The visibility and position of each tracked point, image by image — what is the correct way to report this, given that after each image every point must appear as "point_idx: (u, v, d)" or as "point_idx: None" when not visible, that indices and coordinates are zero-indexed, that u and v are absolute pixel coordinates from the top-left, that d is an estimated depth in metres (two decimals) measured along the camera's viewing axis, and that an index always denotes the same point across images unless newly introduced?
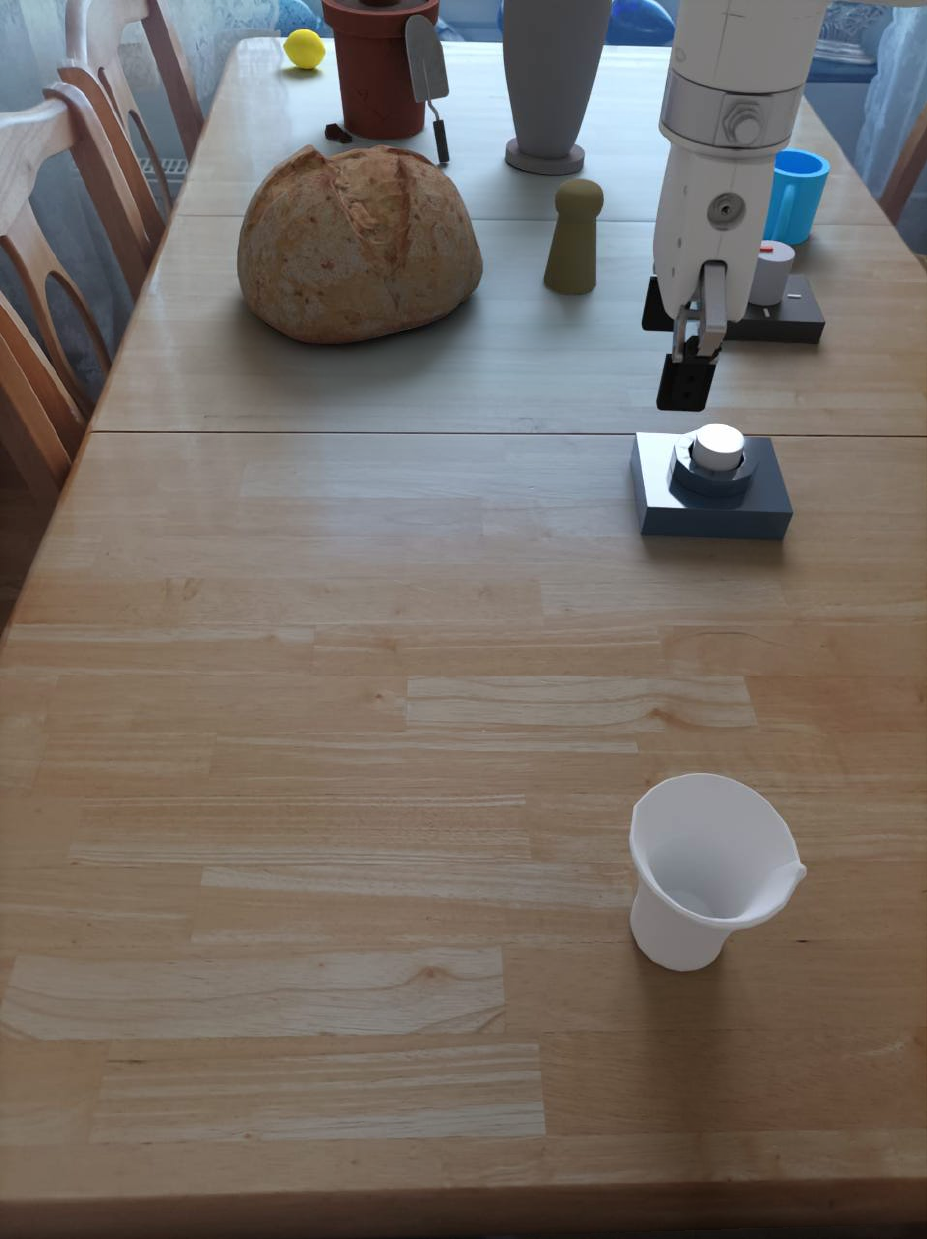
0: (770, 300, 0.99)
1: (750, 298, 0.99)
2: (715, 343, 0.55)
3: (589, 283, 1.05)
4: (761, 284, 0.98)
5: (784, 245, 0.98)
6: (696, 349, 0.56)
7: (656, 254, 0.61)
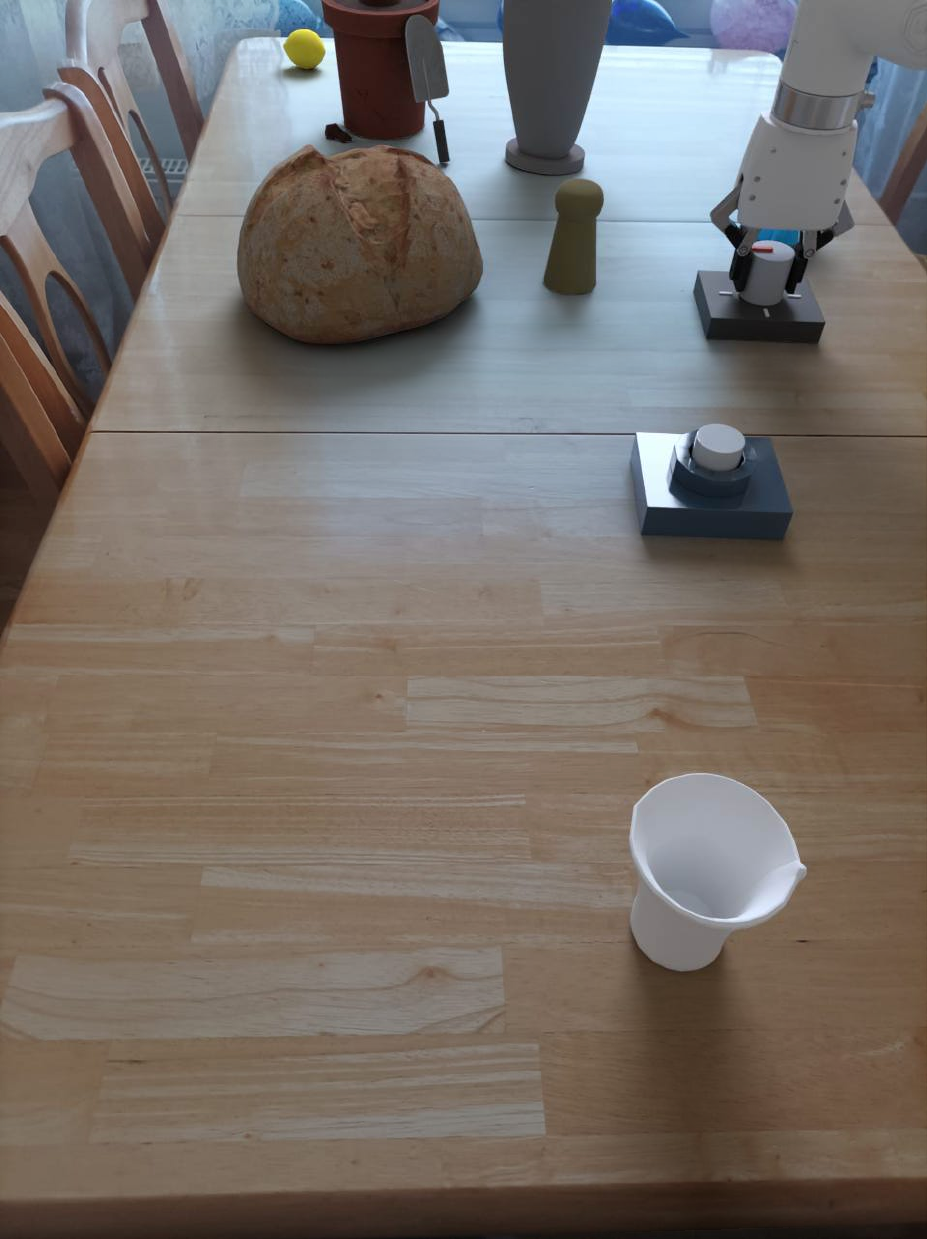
0: (770, 300, 0.99)
1: (750, 298, 0.99)
2: None
3: (589, 283, 1.05)
4: (761, 284, 0.98)
5: (784, 245, 0.98)
6: (832, 237, 0.95)
7: (775, 216, 0.92)
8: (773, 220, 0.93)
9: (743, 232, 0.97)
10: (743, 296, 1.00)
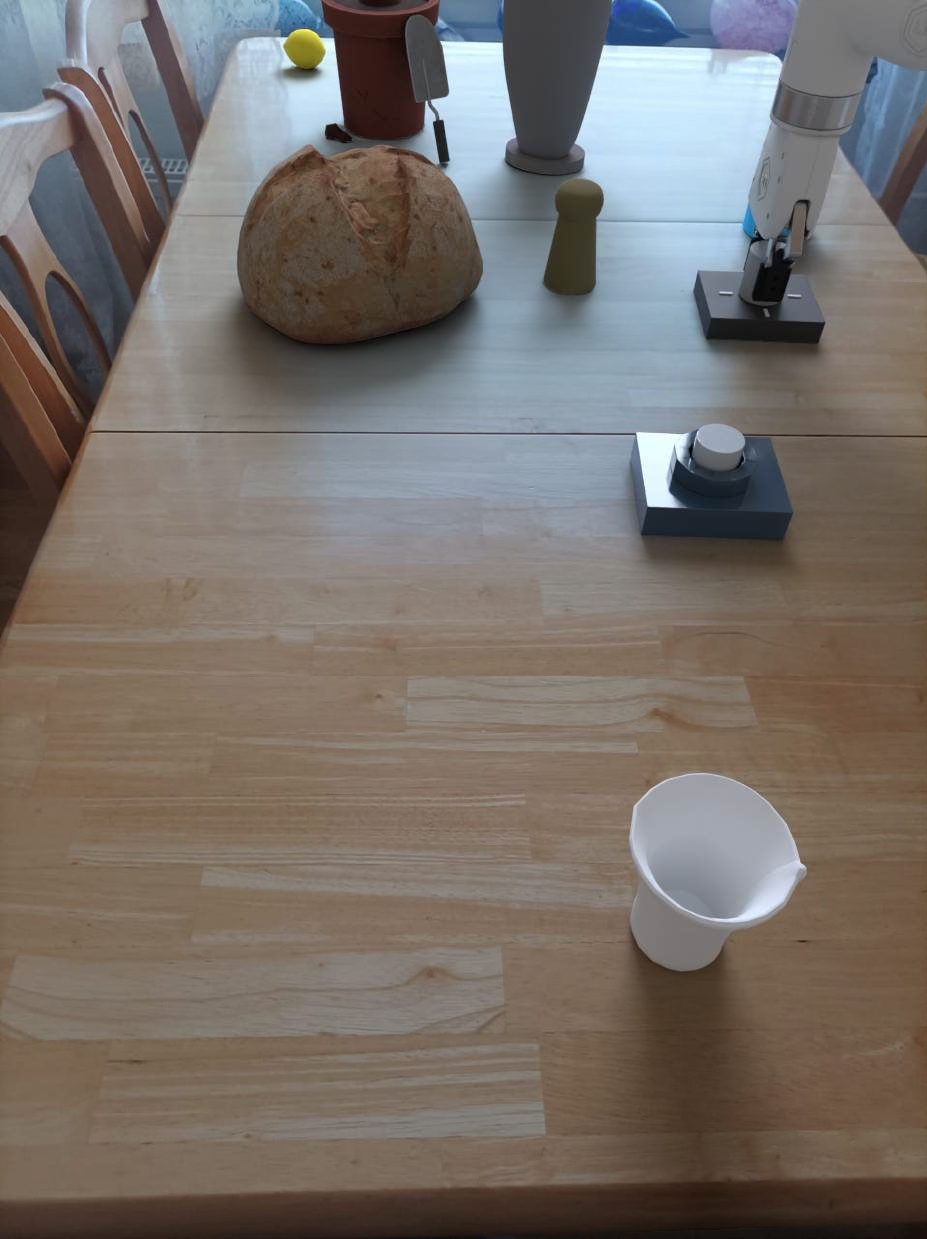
0: None
1: None
2: None
3: (589, 283, 1.05)
4: None
5: (758, 243, 0.98)
6: None
7: None
8: None
9: None
10: (774, 302, 0.99)
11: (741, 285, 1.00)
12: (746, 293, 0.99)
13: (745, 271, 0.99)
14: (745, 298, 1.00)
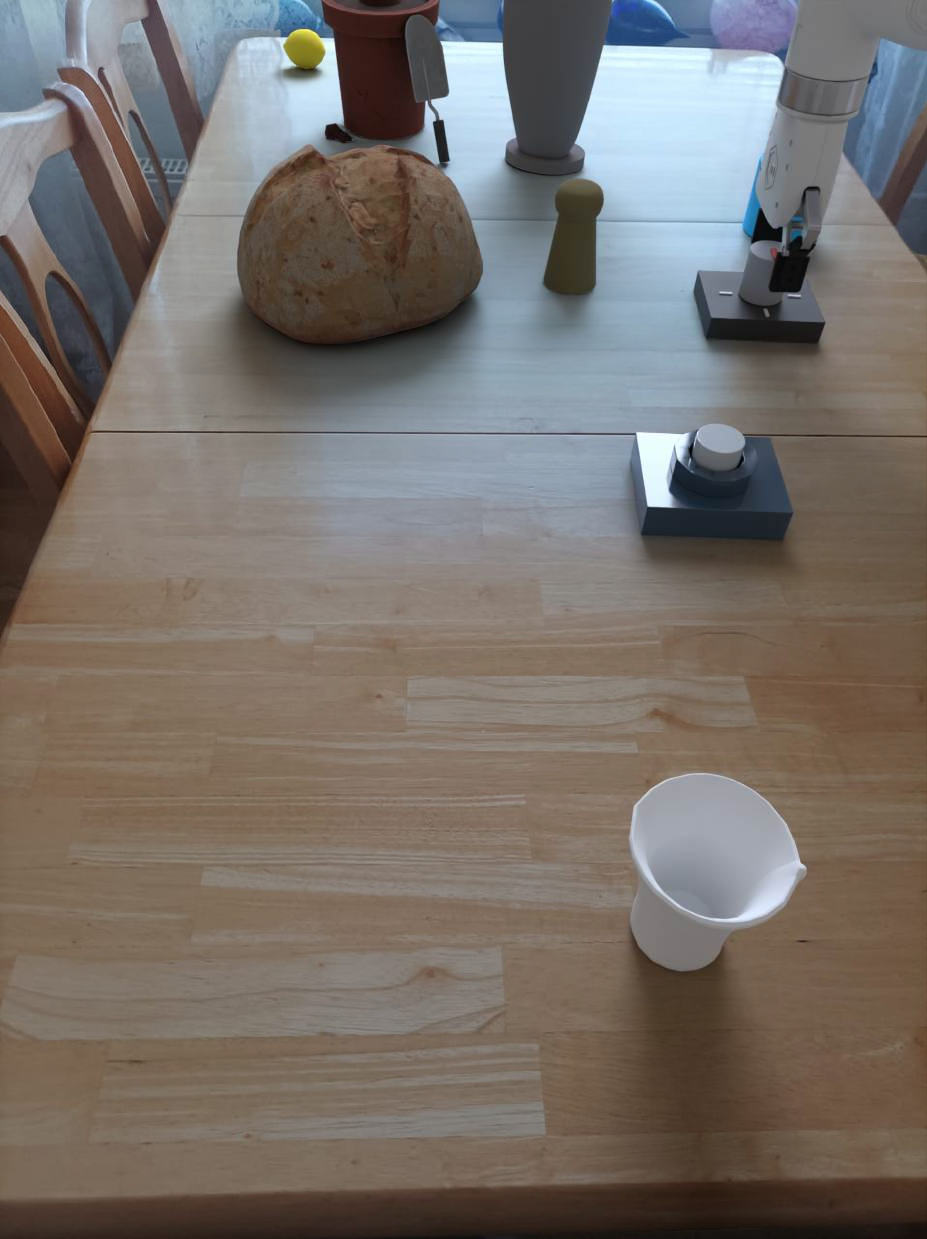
0: None
1: (780, 298, 0.99)
2: None
3: (589, 283, 1.05)
4: None
5: (758, 243, 0.98)
6: None
7: None
8: None
9: (790, 241, 0.91)
10: (773, 302, 0.99)
11: (741, 285, 1.00)
12: (746, 293, 0.99)
13: (745, 271, 0.99)
14: (745, 298, 1.00)
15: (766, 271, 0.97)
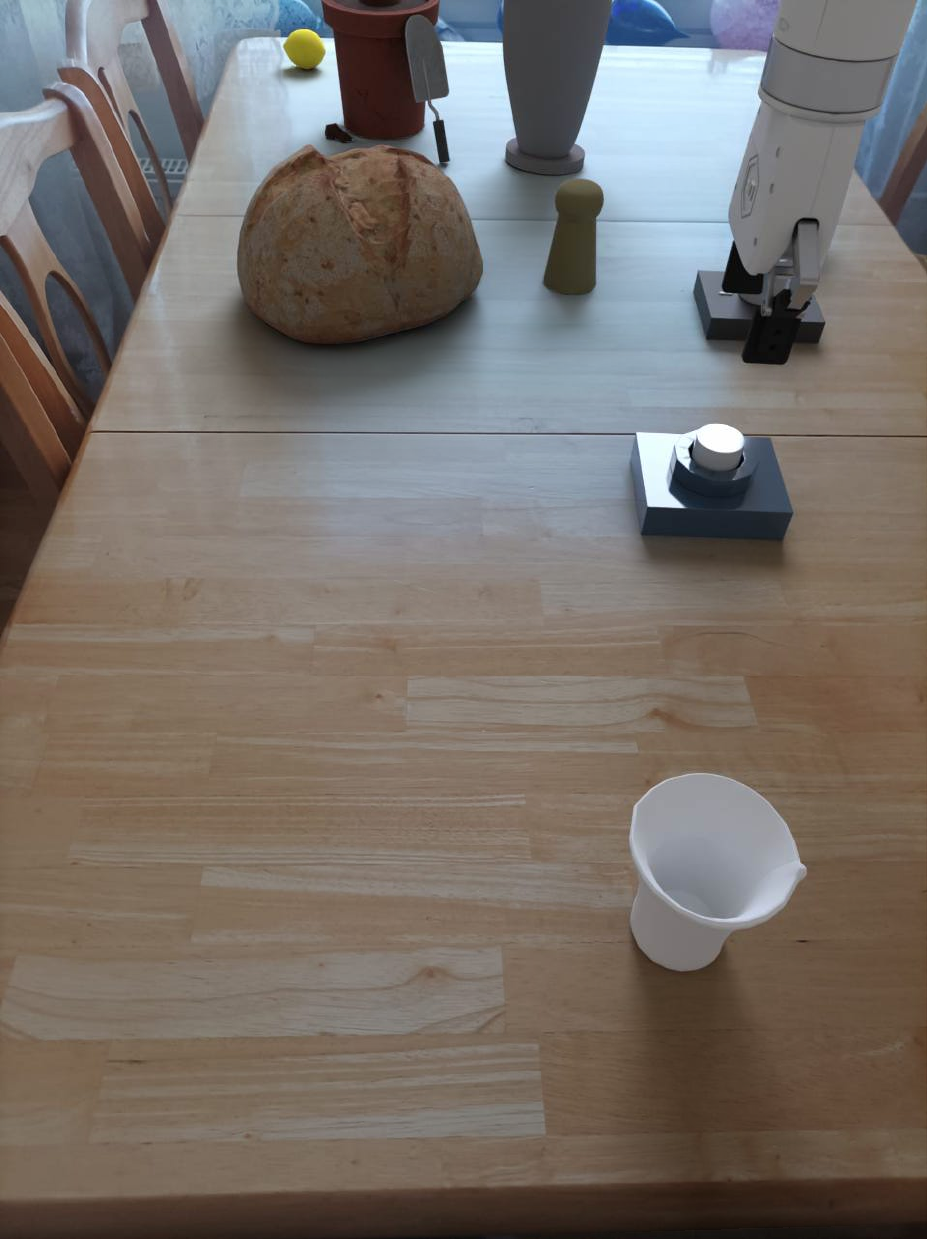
0: None
1: None
2: None
3: (589, 283, 1.05)
4: (787, 279, 0.99)
5: None
6: None
7: None
8: None
9: None
10: None
11: None
12: None
13: None
14: (745, 298, 1.00)
15: None
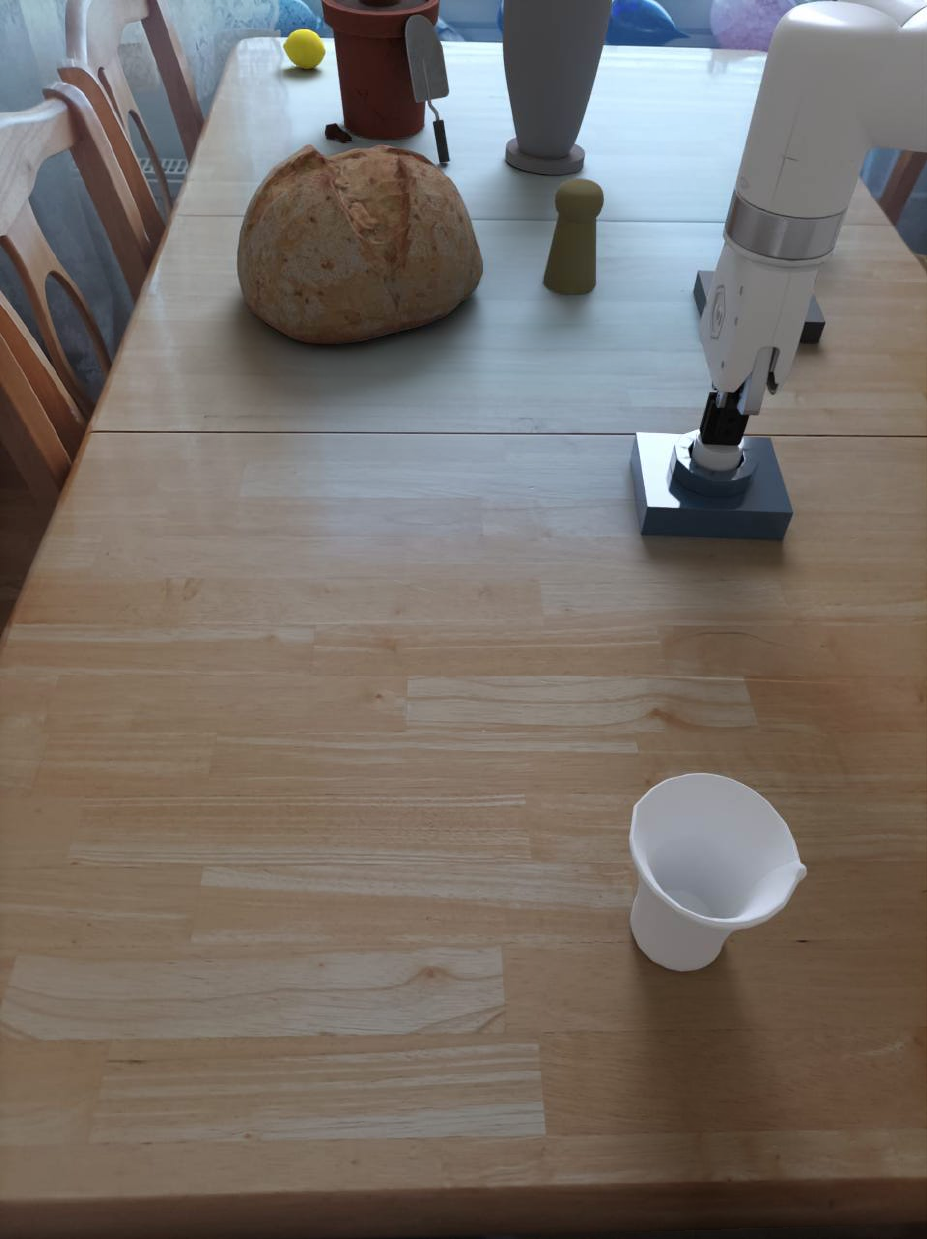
0: None
1: None
2: None
3: (589, 283, 1.05)
4: None
5: None
6: None
7: None
8: None
9: None
10: None
11: None
12: None
13: None
14: None
15: None
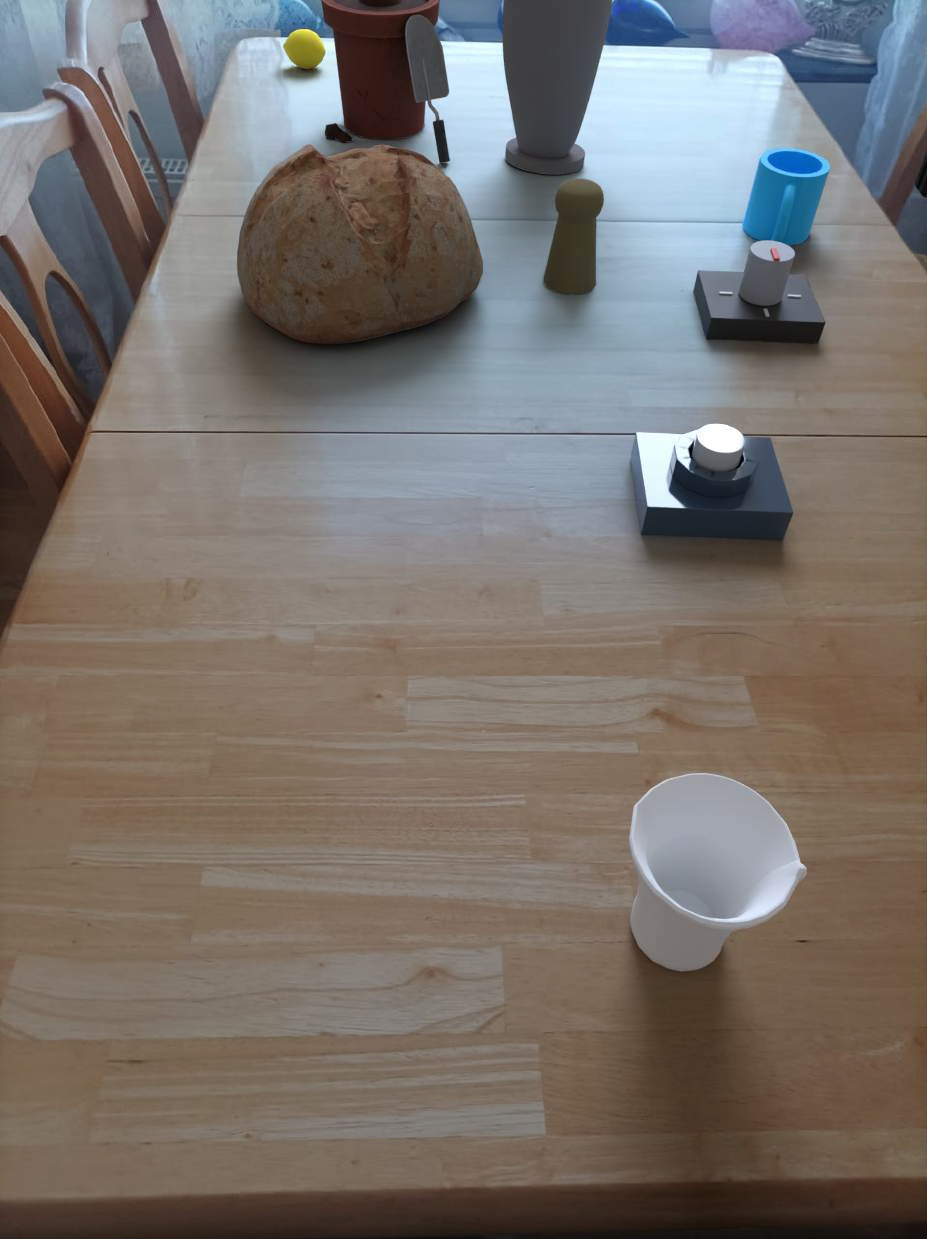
0: None
1: (780, 298, 0.99)
2: None
3: (589, 283, 1.05)
4: (787, 279, 0.99)
5: (758, 243, 0.98)
6: None
7: None
8: None
9: None
10: (773, 302, 0.99)
11: (741, 285, 1.00)
12: (746, 293, 0.99)
13: (745, 271, 0.99)
14: (745, 298, 1.00)
15: (766, 271, 0.97)
